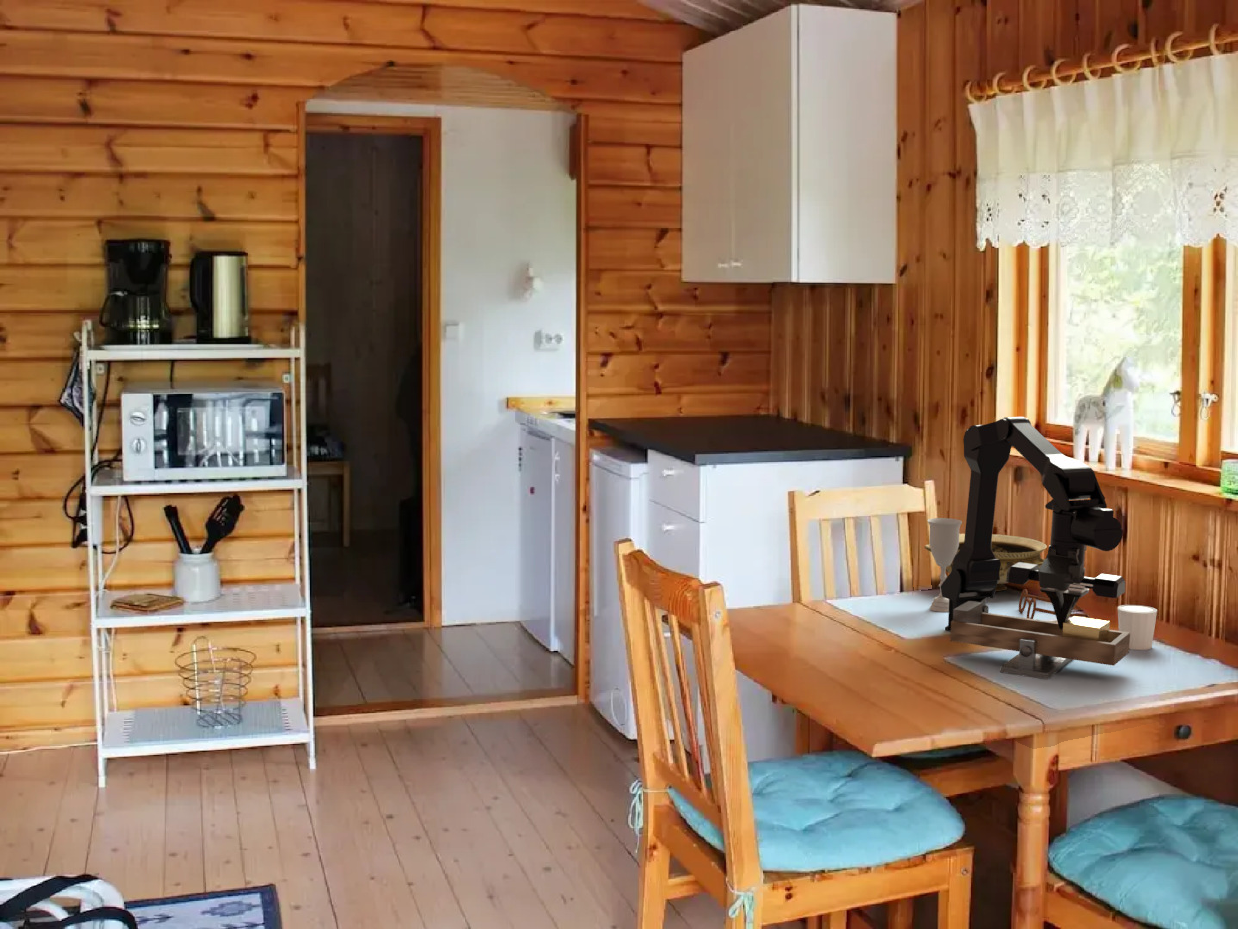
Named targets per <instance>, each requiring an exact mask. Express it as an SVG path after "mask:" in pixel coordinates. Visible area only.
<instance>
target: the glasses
mask: <svg viewBox="0 0 1238 929" xmlns="http://www.w3.org/2000/svg"><path fill="white" fill-rule="evenodd" d="M1023 598H1024V602H1023ZM1037 601H1041V602H1047V603H1050V604H1052V603H1051V600H1050V598H1046V597H1042V596H1037V595H1032V594H1029V592H1028V589H1026V588H1023V589H1022V591H1021V594H1020V598H1019V602H1018V612H1019V613H1024V611H1025V608H1026V606H1027V605H1028V607H1027V611H1026V612H1027V613H1026V618H1028V619H1034V617H1035V614H1036V612H1040V613H1044V614H1047V615H1048V614H1049V615H1052V616H1053V615H1054V616H1056V615H1055V611H1054V610H1050V609H1045V608H1040V607H1037ZM1022 602H1023V605H1022ZM1032 605H1033V607H1032ZM1074 608H1075V609H1077V610H1078V611H1079V610H1084V609H1083V608H1082V607H1081V606H1080V605H1078V604H1077V603H1076V604H1075V606H1074ZM1031 609H1032V613H1031V615H1030V611H1031ZM1074 616H1077V617H1084V618H1091V617H1090V616H1089V615H1088V614H1087V613H1077V612H1076V613H1074V612H1073V613H1071V614H1070V617H1069V618H1072V617H1074Z"/></svg>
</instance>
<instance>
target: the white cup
mask: <svg viewBox="0 0 1238 929" xmlns="http://www.w3.org/2000/svg"><path fill="white" fill-rule="evenodd" d="M1157 615H1158V609H1157V608H1154V607H1151V606H1147V605H1140V604H1122V605H1118V606H1117V618H1118V619H1117V620H1118V621H1117V622H1118V623H1117V624H1118V631H1122V632H1130V642H1129V650H1137V651H1142V650H1143V651H1147V650H1151V649H1152V647H1153V642H1154V634H1155V626H1156V621H1157Z"/></svg>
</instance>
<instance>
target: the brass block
mask: <svg viewBox="0 0 1238 929" xmlns="http://www.w3.org/2000/svg"><path fill="white" fill-rule="evenodd" d="M1110 624H1111V622H1110V620H1103V619H1098V618H1096V619H1095V618H1091V617H1090V618H1085V617H1079V616H1074V617H1070V618H1069V619H1068V620H1067V621H1066V622H1064V623H1063V636H1066V637H1073V638H1080V639H1087V640H1094V641H1101V642H1108V643H1109V630H1110Z"/></svg>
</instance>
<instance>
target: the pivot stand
mask: <svg viewBox="0 0 1238 929" xmlns="http://www.w3.org/2000/svg"><path fill="white" fill-rule="evenodd" d="M1072 660H1073V659H1066V658H1060V657H1053V656H1046V655H1039V654H1036V640H1033V639H1026V638H1022V639H1020V648H1019V651H1018V654H1016V655H1015V656H1013V657H1012V658H1010V659H1009V660H1007V661H1006V662H1004V663H1003V664H1002V665H1000V668H999V670H1000V673H1003V674H1008V675H1009V674H1010V675H1016V676H1018V675H1019V676H1022V675H1024V677H1029V678H1031V677H1032V678H1038V679H1043V680H1049V679H1050V678H1051V677H1052V676H1053V675H1055V674H1056V673H1057V672H1058V671H1060V670H1061V669H1062V668H1064V667H1065V666H1066V665H1067V664H1069V663H1070V662H1072Z"/></svg>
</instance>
